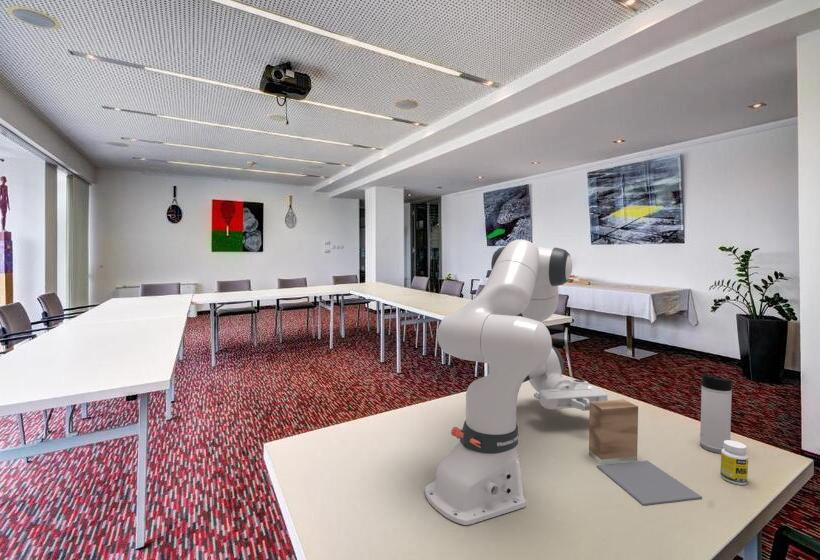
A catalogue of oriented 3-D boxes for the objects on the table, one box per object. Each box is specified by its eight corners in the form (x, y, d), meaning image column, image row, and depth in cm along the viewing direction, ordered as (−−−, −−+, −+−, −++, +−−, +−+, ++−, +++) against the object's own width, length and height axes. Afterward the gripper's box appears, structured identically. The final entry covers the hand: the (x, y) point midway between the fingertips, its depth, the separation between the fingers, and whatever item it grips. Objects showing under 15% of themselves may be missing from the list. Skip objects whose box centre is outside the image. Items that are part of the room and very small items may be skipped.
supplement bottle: (737, 487, 84) (738, 450, 83) (715, 475, 88) (716, 440, 88) (752, 483, 85) (754, 447, 85) (730, 472, 90) (731, 437, 89)
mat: (596, 466, 92) (596, 465, 92) (647, 461, 95) (647, 460, 95) (643, 505, 78) (643, 503, 78) (702, 498, 80) (702, 496, 80)
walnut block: (588, 454, 99) (589, 401, 98) (623, 451, 100) (624, 399, 100) (601, 464, 94) (602, 409, 93) (637, 460, 95) (638, 406, 95)
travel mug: (693, 445, 103) (695, 373, 102) (710, 441, 105) (712, 370, 104) (718, 456, 97) (720, 379, 96) (735, 452, 99) (738, 377, 98)
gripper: (531, 383, 119) (554, 399, 105) (590, 380, 122) (620, 395, 108) (530, 403, 119) (554, 421, 105) (590, 399, 122) (620, 416, 108)
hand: (588, 408), depth 107 cm, fingers closed
